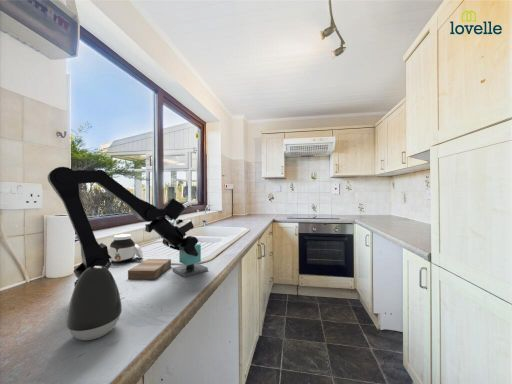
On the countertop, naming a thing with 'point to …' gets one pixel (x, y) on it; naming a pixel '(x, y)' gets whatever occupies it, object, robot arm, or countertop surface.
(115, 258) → the spread jar
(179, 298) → the countertop surface
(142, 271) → the board
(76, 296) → the dark grey egg shape
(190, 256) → the turquoise square block
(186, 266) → the post stand
